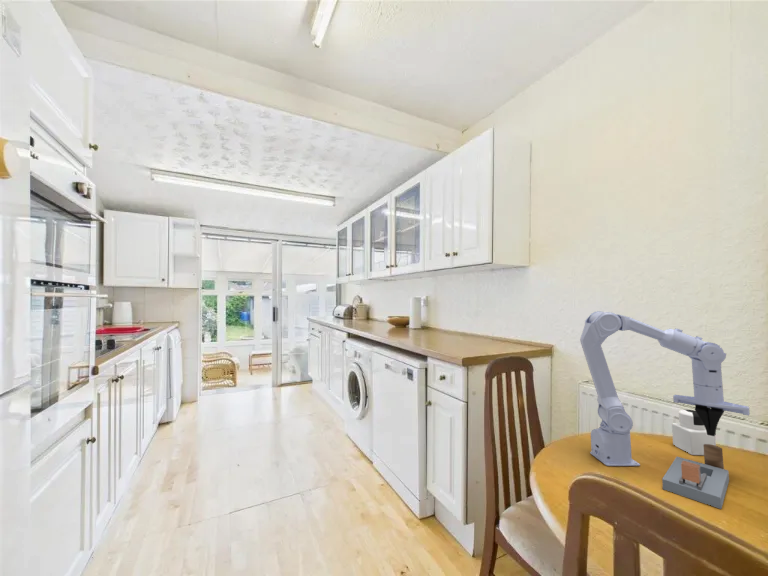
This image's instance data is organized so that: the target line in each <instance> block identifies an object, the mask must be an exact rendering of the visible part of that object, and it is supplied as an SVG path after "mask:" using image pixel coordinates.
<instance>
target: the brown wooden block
mask: <svg viewBox="0 0 768 576" xmlns="http://www.w3.org/2000/svg"><path fill="white" fill-rule="evenodd" d="M703 446H704V455H703V459H704V464H706V465H710V466H714V467H717V468H721V469H725V467H724V457H723V454H724V453H723V448H722V447H721V446H717V445H716V446H715V445H710V444H704V445H703Z"/></svg>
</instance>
